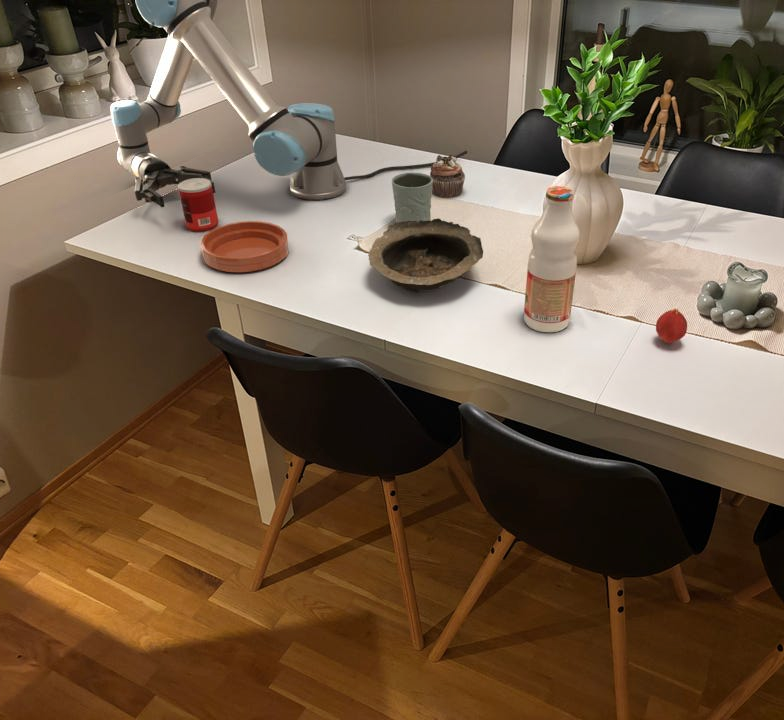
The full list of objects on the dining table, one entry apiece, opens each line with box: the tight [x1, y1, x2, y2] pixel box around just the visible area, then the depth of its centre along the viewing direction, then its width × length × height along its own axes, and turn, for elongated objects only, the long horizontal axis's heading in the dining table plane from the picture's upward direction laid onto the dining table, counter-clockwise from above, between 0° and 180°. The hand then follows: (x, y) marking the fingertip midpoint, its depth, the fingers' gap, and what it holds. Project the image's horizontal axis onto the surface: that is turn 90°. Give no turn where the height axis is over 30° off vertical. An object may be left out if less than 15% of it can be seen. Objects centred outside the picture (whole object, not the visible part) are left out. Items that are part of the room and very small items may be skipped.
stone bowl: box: [367, 217, 484, 293], centre depth 160 cm, size 25×25×9 cm
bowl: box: [200, 220, 290, 273], centre depth 170 cm, size 19×19×4 cm
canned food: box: [177, 178, 219, 233], centre depth 180 cm, size 8×8×11 cm
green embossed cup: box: [391, 172, 433, 223], centre depth 182 cm, size 10×10×12 cm
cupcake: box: [429, 154, 466, 199], centre depth 200 cm, size 10×10×10 cm
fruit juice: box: [523, 185, 581, 333], centre depth 141 cm, size 9×9×28 cm
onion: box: [655, 307, 688, 345], centre depth 141 cm, size 6×6×8 cm
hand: (188, 195), depth 183 cm, fingers open, 13 cm apart
